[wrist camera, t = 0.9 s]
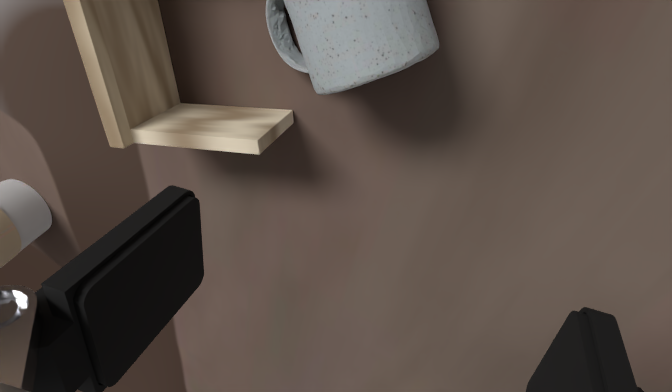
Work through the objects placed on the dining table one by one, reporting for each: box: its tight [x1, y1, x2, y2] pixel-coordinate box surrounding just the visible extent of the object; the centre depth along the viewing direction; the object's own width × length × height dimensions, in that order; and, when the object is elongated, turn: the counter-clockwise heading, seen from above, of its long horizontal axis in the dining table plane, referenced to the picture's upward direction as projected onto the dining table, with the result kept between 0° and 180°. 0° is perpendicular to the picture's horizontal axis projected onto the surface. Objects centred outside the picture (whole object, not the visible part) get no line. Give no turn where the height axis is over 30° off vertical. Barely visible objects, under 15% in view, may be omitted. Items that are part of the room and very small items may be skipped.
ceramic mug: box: [266, 0, 439, 95], centre depth 25 cm, size 11×8×8 cm
